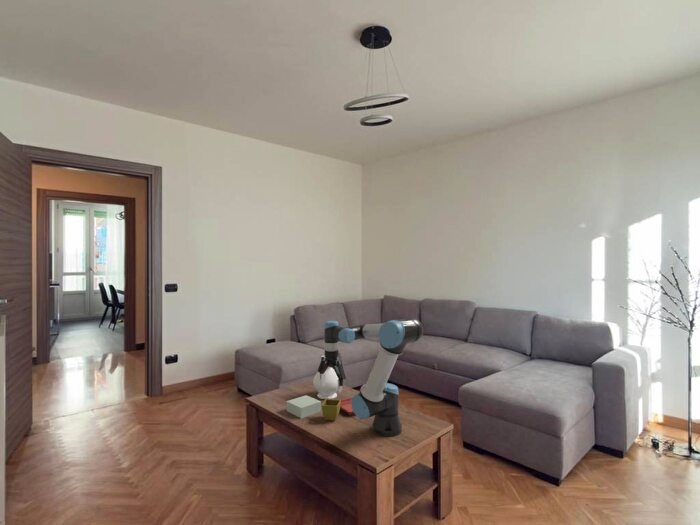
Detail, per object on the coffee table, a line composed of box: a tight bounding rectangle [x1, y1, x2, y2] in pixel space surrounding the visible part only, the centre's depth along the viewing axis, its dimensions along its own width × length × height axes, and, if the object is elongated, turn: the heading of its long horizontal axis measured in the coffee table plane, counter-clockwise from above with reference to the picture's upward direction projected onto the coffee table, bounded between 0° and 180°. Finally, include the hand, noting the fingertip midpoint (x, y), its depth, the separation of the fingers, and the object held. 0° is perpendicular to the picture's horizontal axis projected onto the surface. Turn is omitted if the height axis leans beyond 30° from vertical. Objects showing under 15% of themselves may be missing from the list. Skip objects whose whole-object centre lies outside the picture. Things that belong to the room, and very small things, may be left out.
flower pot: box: [321, 399, 342, 422], centre depth 208 cm, size 9×9×9 cm
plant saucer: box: [340, 397, 356, 416], centre depth 222 cm, size 18×18×3 cm
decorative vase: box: [312, 355, 338, 400], centre depth 243 cm, size 18×18×25 cm
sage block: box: [286, 394, 322, 419], centre depth 219 cm, size 14×14×6 cm
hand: (331, 388), depth 208 cm, fingers open, 13 cm apart
